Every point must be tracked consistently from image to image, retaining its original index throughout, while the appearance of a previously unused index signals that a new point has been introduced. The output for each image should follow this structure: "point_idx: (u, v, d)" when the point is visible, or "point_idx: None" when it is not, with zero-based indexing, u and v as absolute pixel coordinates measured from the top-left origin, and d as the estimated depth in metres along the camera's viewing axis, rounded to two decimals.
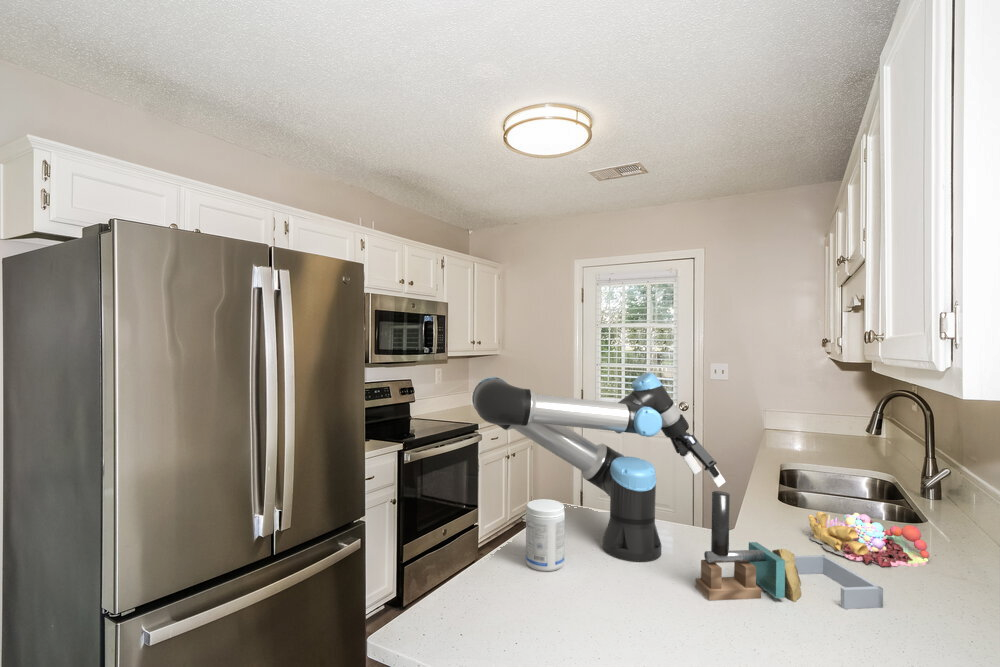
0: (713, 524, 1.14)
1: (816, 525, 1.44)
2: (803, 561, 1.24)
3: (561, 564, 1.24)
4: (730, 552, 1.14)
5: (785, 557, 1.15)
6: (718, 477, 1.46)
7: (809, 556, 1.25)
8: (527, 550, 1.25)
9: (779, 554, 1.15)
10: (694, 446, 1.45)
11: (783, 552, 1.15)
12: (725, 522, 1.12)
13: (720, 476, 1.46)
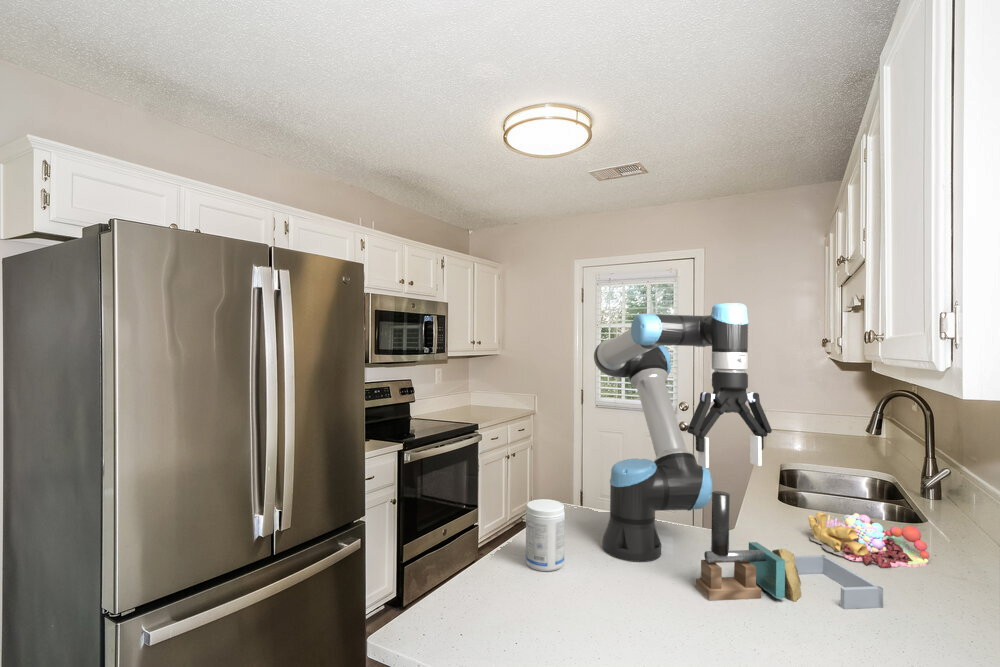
0: (713, 524, 1.14)
1: (816, 525, 1.44)
2: (803, 561, 1.24)
3: (561, 564, 1.24)
4: (730, 552, 1.14)
5: (785, 557, 1.15)
6: (702, 456, 1.14)
7: (809, 556, 1.25)
8: (527, 550, 1.25)
9: (779, 554, 1.15)
10: (700, 404, 1.15)
11: (783, 552, 1.16)
12: (725, 522, 1.12)
13: (704, 457, 1.13)
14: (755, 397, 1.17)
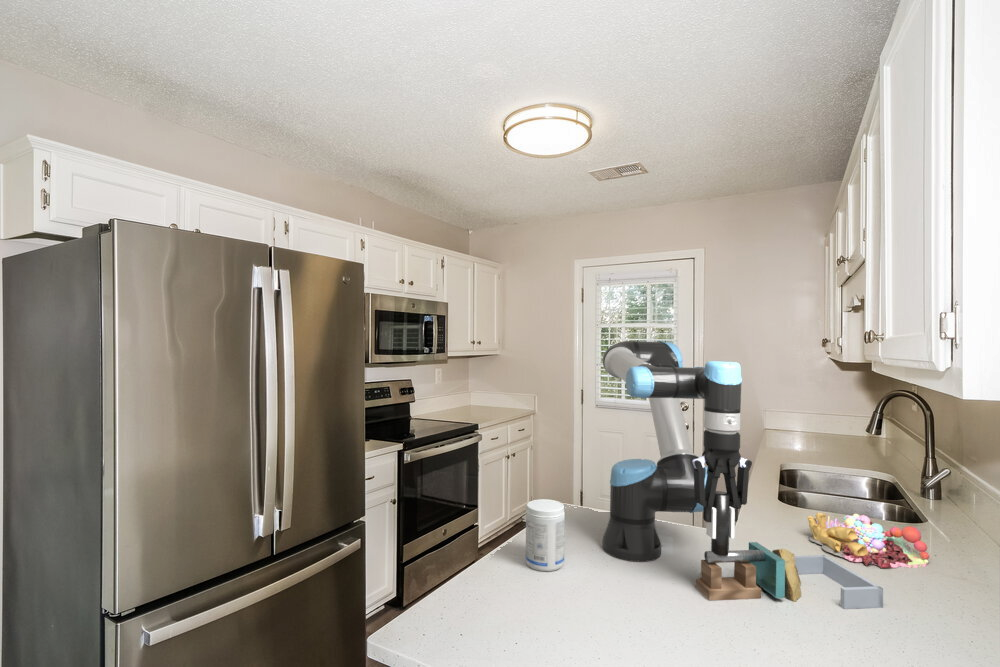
0: None
1: (815, 526, 1.43)
2: (803, 561, 1.24)
3: (561, 564, 1.24)
4: (730, 552, 1.14)
5: (785, 557, 1.15)
6: (710, 526, 1.13)
7: (809, 556, 1.25)
8: (527, 550, 1.25)
9: (779, 554, 1.15)
10: (695, 471, 1.14)
11: (783, 552, 1.15)
12: (725, 522, 1.12)
13: (711, 527, 1.13)
14: (747, 464, 1.14)
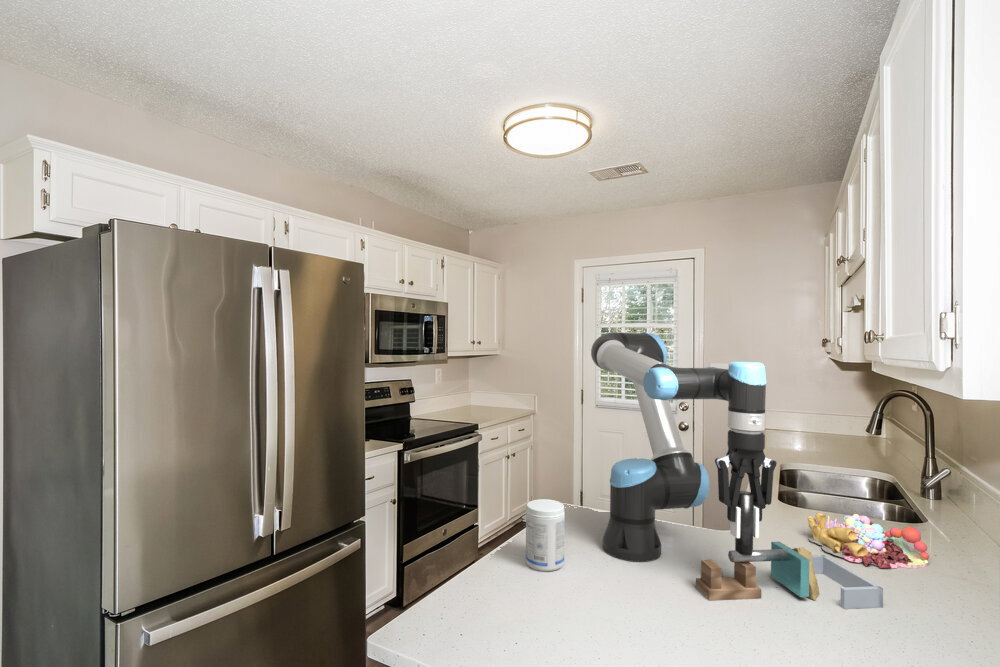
0: None
1: (815, 526, 1.43)
2: None
3: (561, 564, 1.24)
4: (754, 551, 1.14)
5: None
6: (734, 525, 1.14)
7: None
8: (527, 550, 1.25)
9: None
10: (719, 471, 1.15)
11: (801, 551, 1.16)
12: (750, 522, 1.13)
13: (735, 527, 1.14)
14: (772, 464, 1.14)
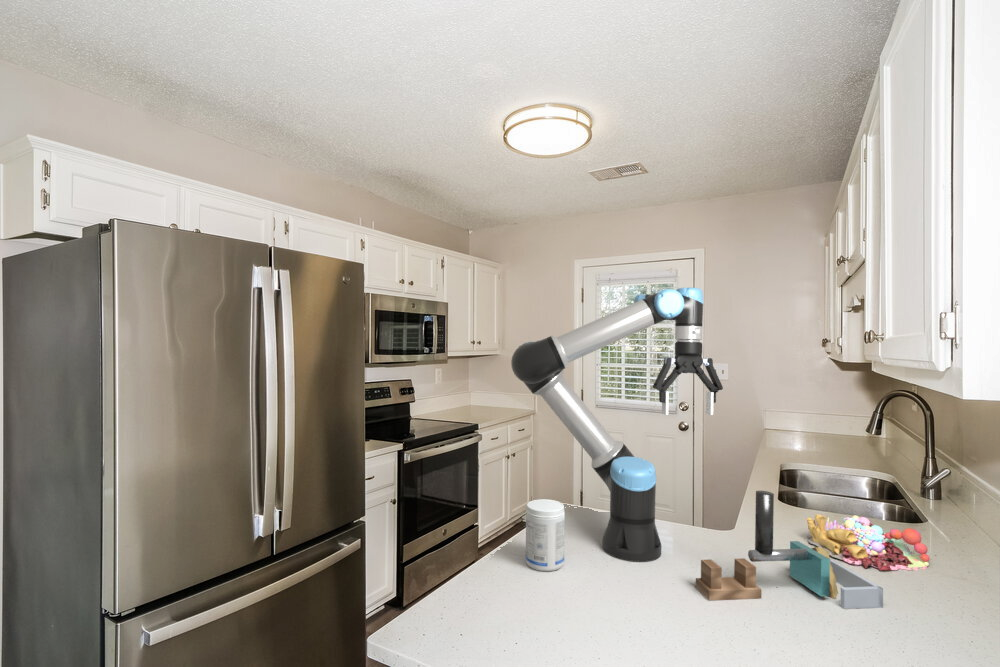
0: (757, 523, 1.15)
1: (814, 528, 1.42)
2: None
3: (561, 564, 1.24)
4: (774, 551, 1.15)
5: None
6: (664, 406, 1.48)
7: None
8: (527, 550, 1.25)
9: None
10: (663, 366, 1.49)
11: (819, 550, 1.17)
12: (770, 521, 1.13)
13: (665, 406, 1.47)
14: (709, 361, 1.49)
